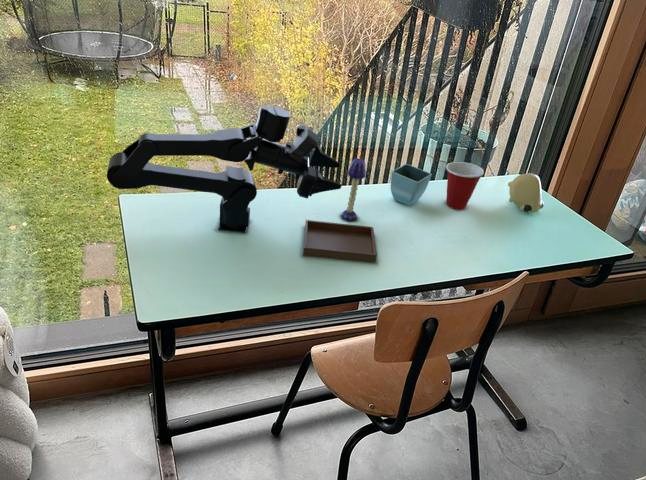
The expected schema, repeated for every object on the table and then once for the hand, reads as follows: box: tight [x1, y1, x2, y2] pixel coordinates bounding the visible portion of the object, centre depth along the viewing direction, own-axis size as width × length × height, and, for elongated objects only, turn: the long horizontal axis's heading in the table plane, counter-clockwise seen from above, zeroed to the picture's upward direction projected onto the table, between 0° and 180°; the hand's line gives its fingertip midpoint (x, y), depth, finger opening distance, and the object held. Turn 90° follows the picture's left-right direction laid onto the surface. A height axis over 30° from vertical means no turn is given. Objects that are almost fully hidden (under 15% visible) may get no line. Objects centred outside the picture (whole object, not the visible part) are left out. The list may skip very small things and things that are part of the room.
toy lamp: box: [340, 157, 367, 222], centre depth 146 cm, size 5×5×17 cm
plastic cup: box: [445, 161, 485, 211], centre depth 164 cm, size 11×11×12 cm
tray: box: [302, 219, 378, 264], centre depth 138 cm, size 17×13×2 cm
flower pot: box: [390, 163, 432, 207], centre depth 162 cm, size 9×9×9 cm
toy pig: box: [507, 173, 545, 214], centre depth 171 cm, size 10×12×11 cm
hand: (340, 175), depth 136 cm, fingers open, 9 cm apart
